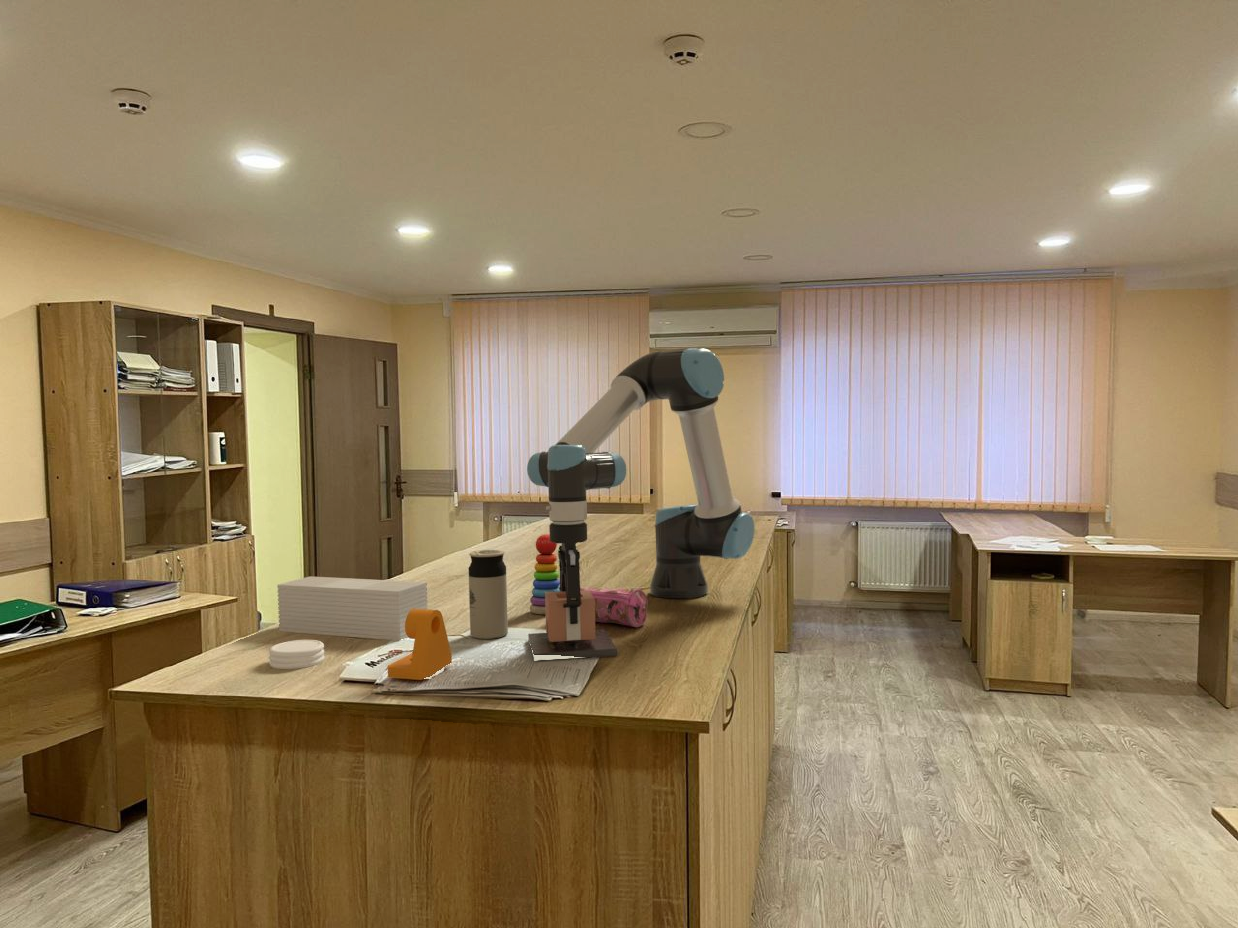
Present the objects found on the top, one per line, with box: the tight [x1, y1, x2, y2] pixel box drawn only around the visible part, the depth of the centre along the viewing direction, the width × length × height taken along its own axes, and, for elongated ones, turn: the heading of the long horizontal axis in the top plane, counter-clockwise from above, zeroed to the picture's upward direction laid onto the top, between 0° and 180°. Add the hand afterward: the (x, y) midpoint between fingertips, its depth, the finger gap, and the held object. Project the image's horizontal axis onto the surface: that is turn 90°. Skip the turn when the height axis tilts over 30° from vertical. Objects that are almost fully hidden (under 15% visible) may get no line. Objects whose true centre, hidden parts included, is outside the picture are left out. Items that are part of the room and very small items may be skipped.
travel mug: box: [468, 549, 509, 640], centre depth 182 cm, size 8×8×18 cm
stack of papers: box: [276, 576, 429, 641], centre depth 189 cm, size 32×11×11 cm, turn 70°
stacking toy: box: [529, 533, 560, 615], centre depth 204 cm, size 8×8×19 cm
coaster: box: [268, 639, 326, 670], centre depth 164 cm, size 10×10×4 cm
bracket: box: [387, 608, 453, 681], centre depth 154 cm, size 11×7×12 cm, turn 162°
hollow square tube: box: [545, 590, 596, 642], centre depth 170 cm, size 9×9×8 cm
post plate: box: [528, 628, 618, 658], centre depth 170 cm, size 16×16×6 cm
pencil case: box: [580, 586, 649, 628], centre depth 191 cm, size 21×9×9 cm, turn 58°
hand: (570, 633), depth 170 cm, fingers closed on hollow square tube, 9 cm apart
